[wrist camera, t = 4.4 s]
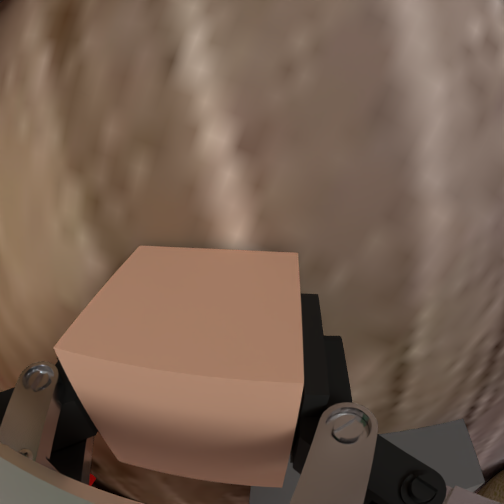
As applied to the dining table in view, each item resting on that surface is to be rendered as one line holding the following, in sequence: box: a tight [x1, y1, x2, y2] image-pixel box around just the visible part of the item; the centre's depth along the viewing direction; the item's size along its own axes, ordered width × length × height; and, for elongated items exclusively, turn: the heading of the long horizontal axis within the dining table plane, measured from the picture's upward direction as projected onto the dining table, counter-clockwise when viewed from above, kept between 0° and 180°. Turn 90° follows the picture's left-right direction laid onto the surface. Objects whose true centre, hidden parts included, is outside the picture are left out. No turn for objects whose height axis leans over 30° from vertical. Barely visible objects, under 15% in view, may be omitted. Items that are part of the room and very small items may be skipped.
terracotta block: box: [53, 246, 304, 488], centre depth 9 cm, size 5×5×5 cm
